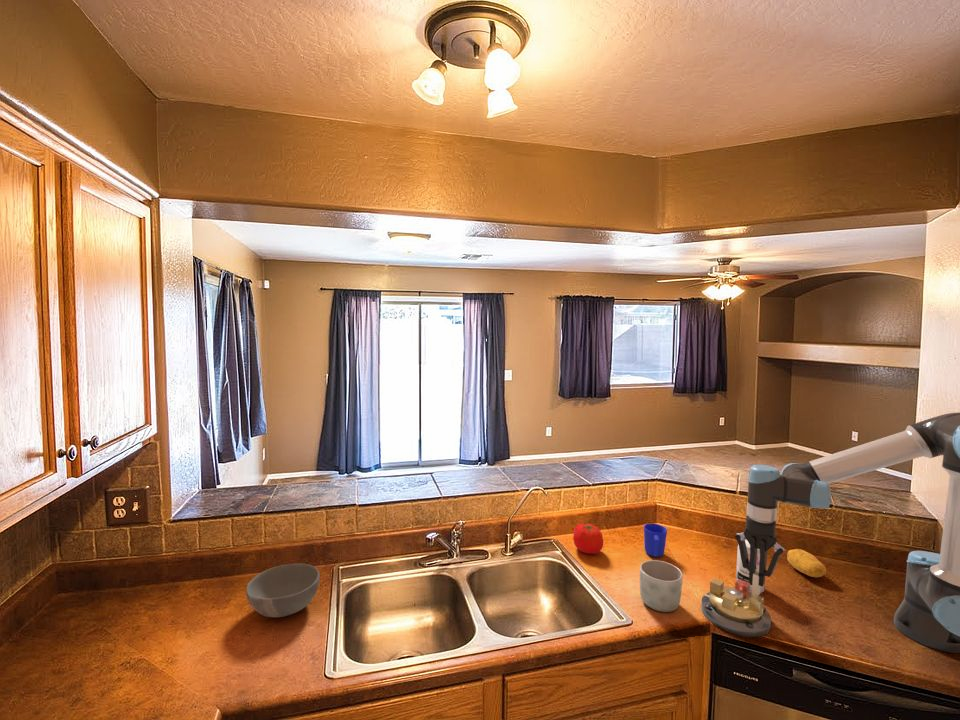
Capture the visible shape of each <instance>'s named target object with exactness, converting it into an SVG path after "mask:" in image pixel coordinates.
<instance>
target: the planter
mask: <svg viewBox="0 0 960 720" xmlns="http://www.w3.org/2000/svg"><path fill="white" fill-rule="evenodd" d="M683 577H684V574H683V572H682V571H681V569H680V568H678V567H677V566H675V565H674V564H672V563H670V562H667V561H663V560H657V559H651V560H645V561H643V562H642V563H641V564H640V565H639V591H640V597H641V601H643V603H644V604H645V605H647V607H648V608H650V609H653V610H655V611H657V612H660V613H661V612H662V613H670V612H673V611H675V610H677V608H678V607H679V606H680V603H681V598H682V591H683V590H682V588H683V579H684V578H683Z"/></svg>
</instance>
